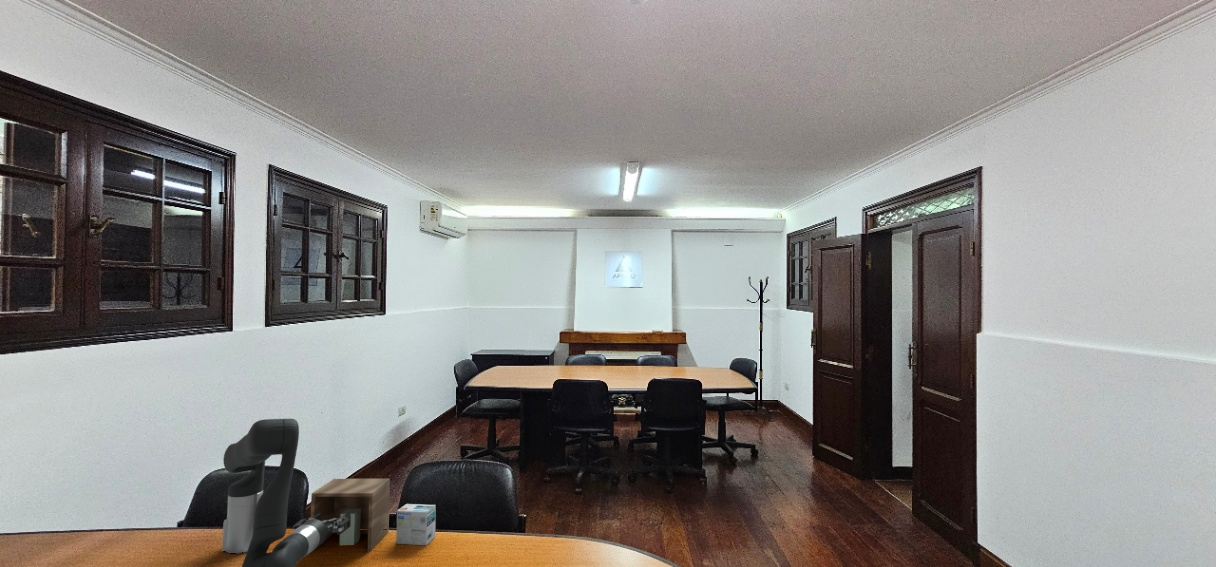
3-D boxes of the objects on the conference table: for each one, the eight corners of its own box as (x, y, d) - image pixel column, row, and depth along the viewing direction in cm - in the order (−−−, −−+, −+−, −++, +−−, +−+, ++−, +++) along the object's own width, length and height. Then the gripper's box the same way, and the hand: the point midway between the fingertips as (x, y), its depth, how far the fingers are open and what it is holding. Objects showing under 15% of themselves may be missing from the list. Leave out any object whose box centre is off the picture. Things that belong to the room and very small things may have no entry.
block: (339, 545, 164) (340, 513, 165) (346, 539, 169) (347, 508, 169) (353, 545, 164) (354, 513, 165) (359, 539, 169) (360, 508, 169)
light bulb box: (435, 536, 171) (436, 504, 172) (426, 546, 164) (427, 511, 165) (405, 535, 172) (406, 502, 173) (395, 544, 166) (396, 510, 166)
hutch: (309, 551, 160) (311, 493, 161) (331, 532, 174) (333, 478, 175) (370, 551, 160) (372, 493, 161) (388, 532, 174) (389, 478, 175)
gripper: (331, 524, 140) (358, 503, 156) (279, 525, 140) (311, 504, 156) (331, 552, 140) (357, 528, 156) (278, 554, 139) (310, 529, 155)
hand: (334, 516), depth 156 cm, fingers open, 8 cm apart
